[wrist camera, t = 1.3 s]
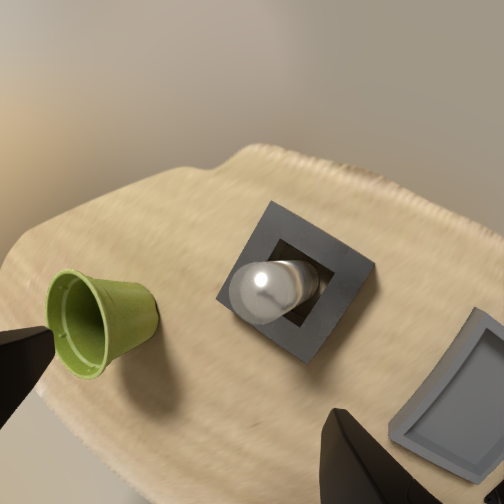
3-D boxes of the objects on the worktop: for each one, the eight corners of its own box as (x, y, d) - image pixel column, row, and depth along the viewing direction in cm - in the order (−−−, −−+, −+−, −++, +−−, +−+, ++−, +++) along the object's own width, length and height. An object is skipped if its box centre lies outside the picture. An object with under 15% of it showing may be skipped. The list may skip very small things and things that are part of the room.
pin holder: (374, 262, 22) (375, 263, 20) (314, 354, 24) (307, 364, 21) (280, 205, 25) (271, 200, 23) (229, 295, 26) (215, 298, 24)
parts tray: (552, 369, 15) (565, 378, 13) (473, 469, 17) (478, 484, 15) (474, 306, 19) (485, 312, 17) (388, 422, 21) (388, 438, 19)
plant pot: (188, 299, 28) (120, 312, 20) (155, 374, 30) (94, 401, 22) (123, 250, 31) (57, 248, 23) (99, 322, 33) (39, 334, 25)
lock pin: (326, 274, 23) (299, 284, 15) (304, 308, 24) (266, 336, 16) (292, 252, 24) (247, 250, 16) (271, 286, 25) (218, 301, 17)
